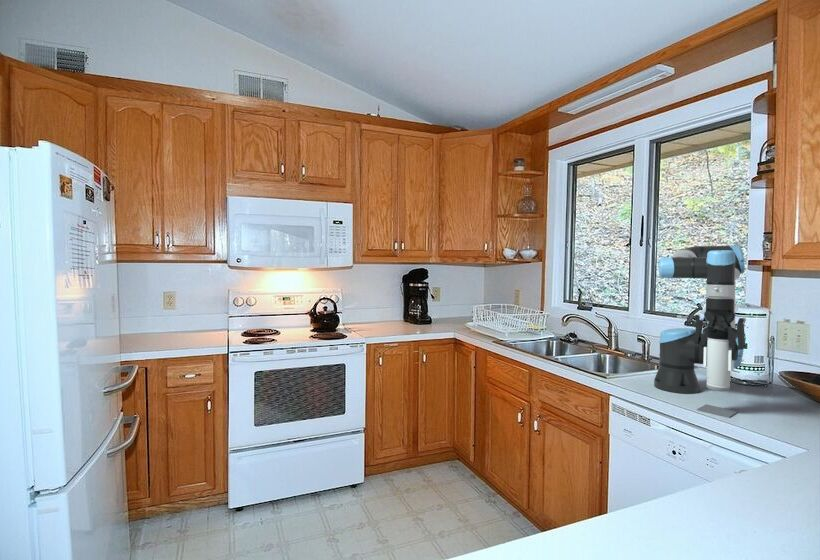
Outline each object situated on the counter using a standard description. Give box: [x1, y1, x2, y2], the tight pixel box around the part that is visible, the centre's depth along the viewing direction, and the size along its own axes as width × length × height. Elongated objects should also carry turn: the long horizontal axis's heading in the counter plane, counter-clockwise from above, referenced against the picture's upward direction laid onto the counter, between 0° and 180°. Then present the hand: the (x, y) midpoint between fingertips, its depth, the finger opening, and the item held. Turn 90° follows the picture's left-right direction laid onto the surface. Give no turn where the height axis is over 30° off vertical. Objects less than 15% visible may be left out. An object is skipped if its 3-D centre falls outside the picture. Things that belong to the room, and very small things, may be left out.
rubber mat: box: [696, 403, 739, 418], centre depth 142 cm, size 8×9×1 cm
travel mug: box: [706, 328, 731, 392], centre depth 142 cm, size 6×7×20 cm
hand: (718, 367), depth 142 cm, fingers closed on travel mug, 6 cm apart
